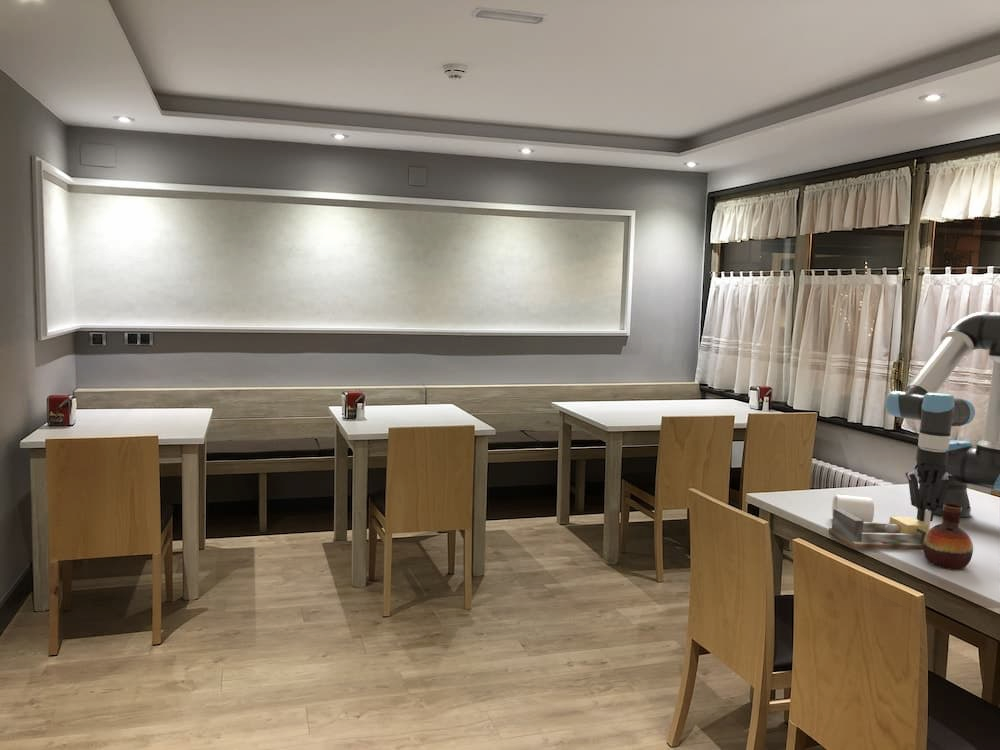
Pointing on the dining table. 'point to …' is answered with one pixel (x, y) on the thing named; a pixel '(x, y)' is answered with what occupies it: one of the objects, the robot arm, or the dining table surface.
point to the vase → (948, 541)
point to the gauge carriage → (906, 526)
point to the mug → (855, 506)
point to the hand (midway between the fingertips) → (923, 532)
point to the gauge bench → (870, 533)
